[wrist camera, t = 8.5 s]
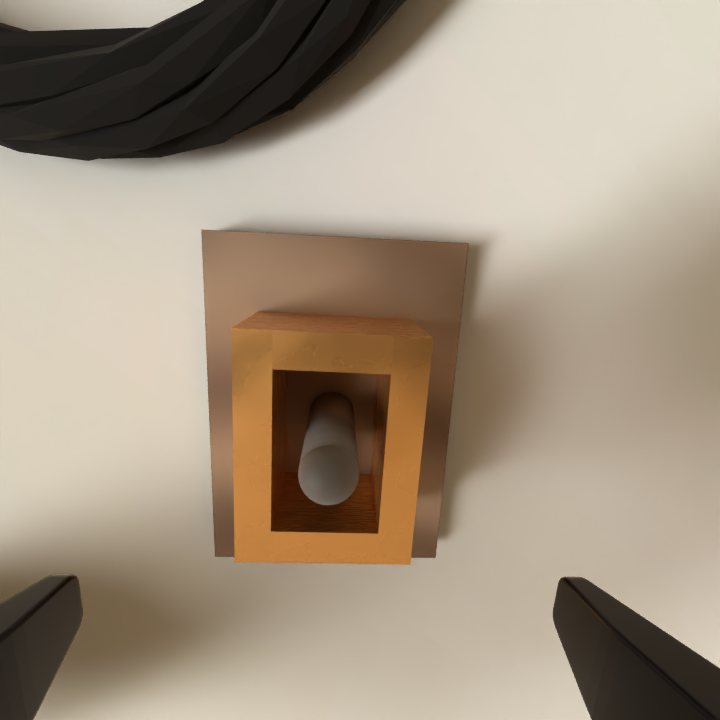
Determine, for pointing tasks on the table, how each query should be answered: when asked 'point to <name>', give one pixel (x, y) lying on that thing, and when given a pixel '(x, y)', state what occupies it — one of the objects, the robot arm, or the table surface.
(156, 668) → the table surface
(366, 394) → the plate
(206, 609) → the table surface
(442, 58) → the table surface
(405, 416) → the hollow wooden frame
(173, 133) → the cable lock
